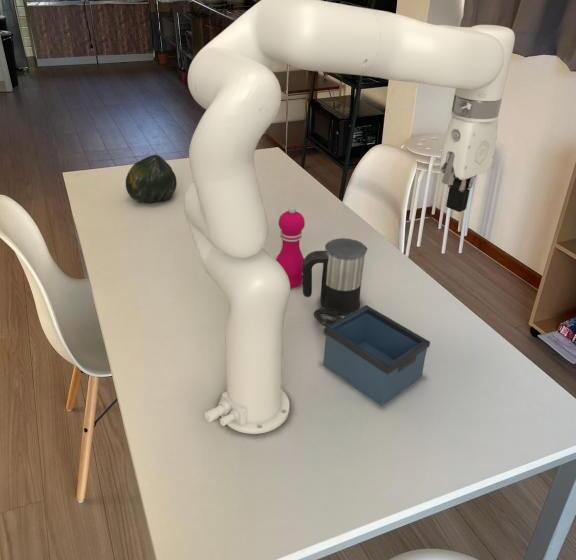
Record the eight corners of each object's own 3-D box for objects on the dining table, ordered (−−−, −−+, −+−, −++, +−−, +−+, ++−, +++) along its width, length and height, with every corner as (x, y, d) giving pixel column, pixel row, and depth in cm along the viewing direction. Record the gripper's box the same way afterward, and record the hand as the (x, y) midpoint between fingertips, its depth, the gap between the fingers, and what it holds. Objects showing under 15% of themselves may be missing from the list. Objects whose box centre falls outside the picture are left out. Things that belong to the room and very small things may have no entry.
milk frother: (349, 290, 138) (355, 234, 131) (382, 327, 126) (390, 268, 118) (294, 300, 134) (297, 244, 126) (322, 340, 121) (327, 280, 114)
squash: (113, 178, 179) (126, 151, 167) (156, 169, 188) (171, 143, 176) (133, 217, 177) (148, 193, 165) (175, 206, 186) (192, 183, 174)
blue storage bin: (423, 378, 112) (382, 407, 105) (362, 339, 122) (321, 364, 115) (430, 341, 107) (388, 369, 100) (366, 304, 117) (323, 327, 110)
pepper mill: (301, 291, 137) (305, 214, 127) (271, 287, 139) (273, 210, 128) (306, 275, 143) (310, 201, 133) (278, 271, 145) (280, 198, 134)
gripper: (470, 120, 89) (449, 227, 99) (519, 104, 98) (495, 204, 107) (430, 109, 93) (413, 212, 103) (480, 95, 102) (461, 192, 112)
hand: (455, 208), depth 105 cm, fingers closed
